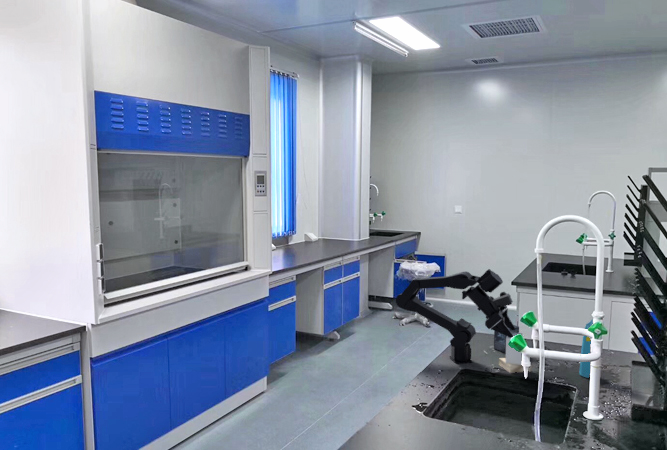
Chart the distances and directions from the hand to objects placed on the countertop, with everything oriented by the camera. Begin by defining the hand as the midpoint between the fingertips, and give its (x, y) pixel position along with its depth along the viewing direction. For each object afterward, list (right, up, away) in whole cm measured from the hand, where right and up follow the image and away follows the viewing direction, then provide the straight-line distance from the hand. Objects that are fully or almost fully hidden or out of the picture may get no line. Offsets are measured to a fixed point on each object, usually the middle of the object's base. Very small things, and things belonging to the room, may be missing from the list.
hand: (513, 333), depth 181 cm
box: (+4, -11, +19) cm, 23 cm away
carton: (+1, -10, 0) cm, 10 cm away
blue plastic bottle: (+23, -13, -7) cm, 28 cm away
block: (+1, -13, +1) cm, 13 cm away
